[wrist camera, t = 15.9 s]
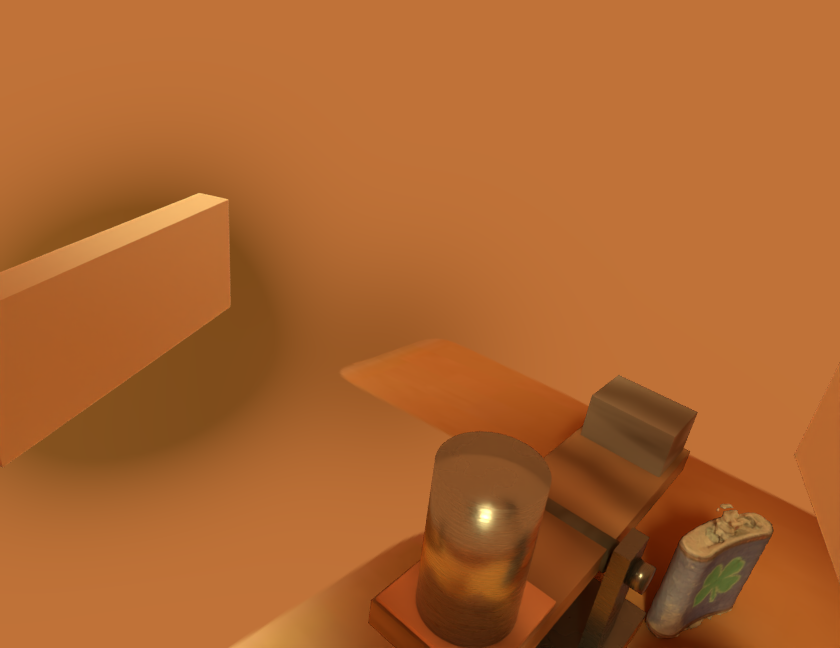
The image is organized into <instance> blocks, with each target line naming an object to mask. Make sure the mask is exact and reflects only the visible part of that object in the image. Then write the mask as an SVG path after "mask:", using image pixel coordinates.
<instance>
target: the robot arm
mask: <svg viewBox="0 0 840 648" xmlns="http://www.w3.org/2000/svg"><path fill="white" fill-rule="evenodd" d="M230 306H231V299H230V249H229V200H228V199H224V198H219V197H215V196H210V195H206V194H202V193H198V194H196V195H193V196H191V197H188V198H186V199H183V200H181V201H178V202H176V203H173V204H170V205H168V206H165V207H163V208H160V209H158V210H155V211H153V212H151V213H148V214H145V215H143V216H140V217H138V218H135V219H133V220H130V221H128V222H125V223H123V224H120V225H118V226H115V227H113V228H110V229H108V230H105V231H103V232H100V233H98V234H95V235H93V236H90V237H88V238H85V239H83V240H80V241H78V242H75V243H72V244H70V245H67V246H65V247H62V248H60V249H57V250H55V251H52V252H50V253H47V254H45V255H42V256H40V257H37V258H35V259H32V260H30V261H27V262H25V263H22V264H20V265H17V266H15V267H12V268H10V269H7V270H5V271H2V272H0V467H4V466H5V465H7V464H8V463H10V462H11V461H13V460H14V459H15V458H16V457H18V456H20V455H21V454H22V453H24V452H25V451H27V450H28V449H29V448H31V447H32V446H34V445H35V444H36V443H38V442H39V441H41V440H42V439H44V438H45V437H47V436H48V435H49V434H51V433H52V432H54V431H55V430H56V429H58V428H59V427H60V426H62V425H64V424H65V423H66V422H68V421H69V420H71V419H72V418H73V417H75V416H76V415H77V414H79V413H80V412H82V411H83V410H85V409H86V408H87V407H89V406H90V405H92V404H93V403H95V402H96V401H98V400H99V399H100V398H102V397H103V396H105V395H106V394H107V393H109V392H110V391H112V390H113V389H115V388H116V387H117V386H119V385H120V384H122V383H123V382H124V381H126V380H127V379H129V378H130V377H132V376H133V375H134V374H136V373H137V372H139V371H140V370H141V369H143V368H144V367H146V366H147V365H149V364H150V363H151V362H153V361H154V360H156V359H157V358H158V357H160V356H161V355H163V354H164V353H165V352H167V351H168V350H170V349H171V348H173V347H174V346H175V345H177V344H178V343H180V342H181V341H182V340H184V339H185V338H187V337H188V336H189V335H191V334H192V333H194V332H195V331H197V330H198V329H200V328H201V327H202V326H204V325H205V324H207V323H208V322H210V321H211V320H212V319H214V318H215V317H217V316H218V315H219V314H221V313H222V312H224V311H225V310H226V309H228V308H229V307H230ZM794 455H795V458H796V461H797V464H798V467H799V469H800V472H801V475H802V478H803V481H804V484H805V487H806V489H807V492H808V495H809V498H810V501H811V504H812V507H813V509H814V512H815V515H816V518H817V521H818V524H819V527H820V529H821V532H822V535H823V538H824V541H825V544H826V546H827V549H828V552H829V555H830V558H831V561H832V564H833V566H834V569H835V572H836V575H837V578H838V581H839V583H840V363H839V365H838V367H837V369H836V371H835V373H834V375H833V377H832V379H831V381H830V384H829V385H828V387H827V390H826V391H825V393H824V395H823V398H822V399H821V402H820V404H819V406H818V408H817V410H816V412H815V414H814V416H813V418H812V420H811V422H810V424H809V426H808V428H807V430H806V432H805V434H804V436H803V438H802V440H801V442H800V444H799V446H798V448H797V450H796V452H795V454H794Z"/></svg>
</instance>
